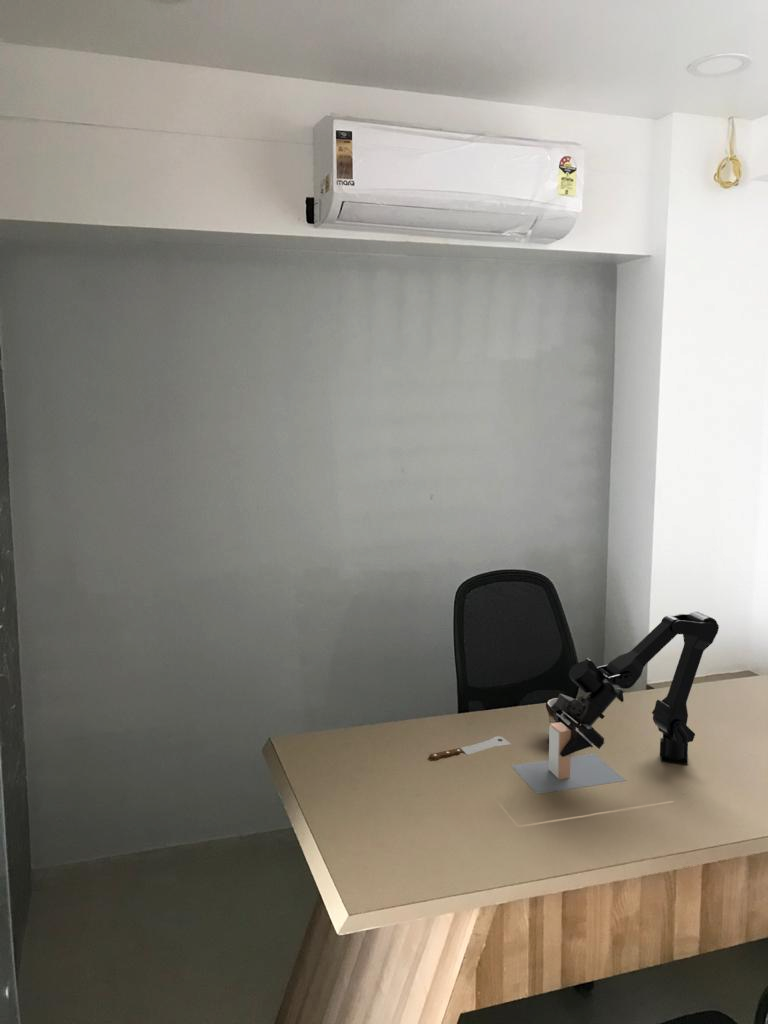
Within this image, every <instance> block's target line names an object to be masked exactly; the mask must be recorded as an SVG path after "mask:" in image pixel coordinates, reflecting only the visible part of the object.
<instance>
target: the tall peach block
mask: <svg viewBox="0 0 768 1024" xmlns="http://www.w3.org/2000/svg"><path fill="white" fill-rule="evenodd" d="M570 739H571V730H570V729H568V728H567V727H566V726H565V725H564V724H562V723H561V722H558V723H550V722H549V735H548V740H549V744H548V760H549V770H550V771H551V772H552V773H553V774H554V775H555V776H556V777H557V778H558V779H566V778H570V757H571V754H569V755H567V756H564V757H562V756H561V755H560V753H561V751H562V750H563V748H564V747H565V746H566V744H567V743H568V742H569V740H570Z"/></svg>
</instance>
